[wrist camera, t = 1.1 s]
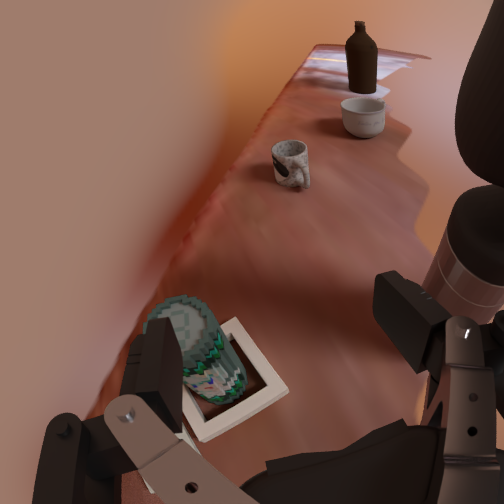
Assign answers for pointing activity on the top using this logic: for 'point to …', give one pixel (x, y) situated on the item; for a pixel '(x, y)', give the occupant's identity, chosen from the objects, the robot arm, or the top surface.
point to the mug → (291, 163)
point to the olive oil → (361, 61)
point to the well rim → (245, 408)
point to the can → (203, 350)
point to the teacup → (363, 116)
